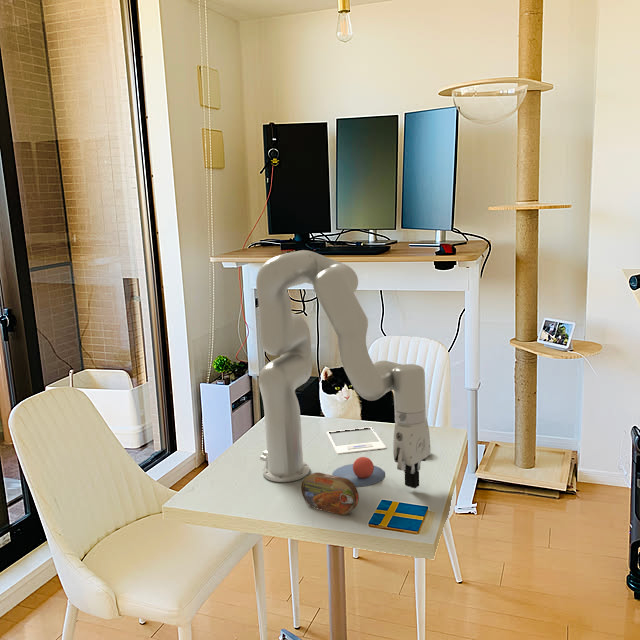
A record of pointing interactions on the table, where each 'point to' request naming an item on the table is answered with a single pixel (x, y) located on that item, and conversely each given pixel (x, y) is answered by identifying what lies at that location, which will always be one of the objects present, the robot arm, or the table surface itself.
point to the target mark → (358, 482)
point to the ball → (363, 467)
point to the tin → (330, 493)
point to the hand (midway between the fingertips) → (412, 485)
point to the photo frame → (357, 445)
